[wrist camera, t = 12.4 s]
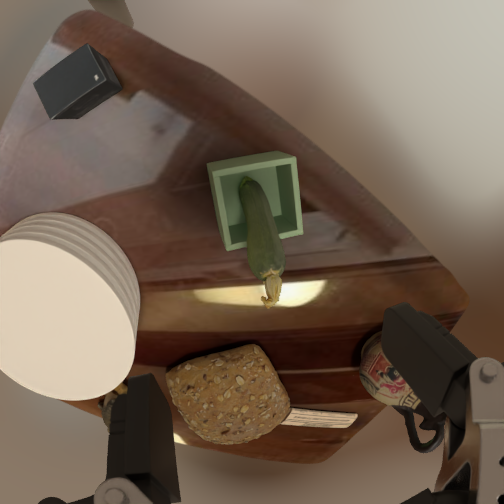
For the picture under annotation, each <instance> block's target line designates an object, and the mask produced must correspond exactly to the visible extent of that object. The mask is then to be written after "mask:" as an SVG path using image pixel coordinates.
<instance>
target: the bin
mask: <svg viewBox="0 0 504 504" xmlns="http://www.w3.org/2000/svg"><path fill="white" fill-rule="evenodd" d="M207 170H208V175H209V181H210V186H211V191H212V197H213V202H214V207H215V213H216V218H217V223H218V228H219V232H220V235H221V238H222V240H223V243H224V245H225V248H226V250H227V251H230V250H234V249H239V248H243V247H247V234H248V229H247V222H246V218H245V215H244V212H243V208H242V204H241V200H240V197H239V190H240V188H239V186H240V185H241V182H242V180H243V178H244V177H246V176H248V177H250V178H252V179H253V180H254V181H256V182H258V183H259V184H260V185H261V187H262V189H263V191H264V193H265V195H266V196H267V199H268V201H269V204H270V208H271V212H272V215H273V218H274V221H275V224H276V227H277V231H278V234H279V237H280V239H283V238H287V237H292V236H296V235H301V234H303V226H302V214H301V204H300V193H299V183H298V174H297V165H296V157H295V156H292V155H289V154H286V153H283V152H280V151H272V152H266V153H260V154H254V155H248V156H242V157H237V158H231V159H226V160H221V161H215V162H210V163H207Z"/></svg>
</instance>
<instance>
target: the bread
mask: <svg viewBox="0 0 504 504" xmlns="http://www.w3.org/2000/svg"><path fill="white" fill-rule="evenodd" d="M165 375H166V381H165V382H167V385H168V388H169V392H170V394H171V396H172V398H173V399H172V401H173V403H174V405H176V406H177V407H178V410H177V411H179V412H180V413H181V415H183V418H184V419H185V422H187V423H188V424H189V426H188V427H189V428H190V429H192V430H193V431H194V432H195V433H196V434H197V435H200V436H201V437H202V439H204V440H206V441H207V440H209V441H210V442H213V443H215V444H218V443H219V444H220V443H221V444H233V443H236V444H239V443H242V442H246V443H247V442H248V441H249V440H252V439H254V438H255V439H257V438H259V437H260V436H261V435H264V434H266V433H268V432H270V431H272V429H273V428H275V427H276V426H277V425H279V424H281V421H282V420H284V418H285V416H286V414H288V412H289V410H288V408H289V407H290V405H289V404H290V402H289V400H290V398H288V393H287V392H286V390H285V388H284V386H283V384H282V383H281V382H280V380H279V378H278V375H277V372H276V371H275V369H274V367H273V366H272V364H271V362H270V361H269V358H268V357H267V356H266V354H265V353H264V352H263V350H262V349H261V347H259V346H257V345H255V344H249V345H244V346H241V347H238V348H235V349H231V350H227V351H223V352H218V353H214V354H210V355H207V356H202V357H198V358H195V359H193V360H188V361H186V362H184V363H182V364H180V365H178V366H176V367H174V368H173V369H171V370H170V371H169V372H168V373H166V374H165Z"/></svg>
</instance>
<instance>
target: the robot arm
mask: <svg viewBox="0 0 504 504" xmlns="http://www.w3.org/2000/svg"><path fill="white" fill-rule="evenodd" d="M381 348H382V351H383V353H384V355H385V357H386V358H387V359H388V360H389V362H390V363H391V364H392V365H393V367H394V368H395V369H396V370H397V372H398V373H399V374H400V375H401V377H402V378H403V379H404V380H405V382H406V383H407V384H408V385H409V387H410V388H411V389H412V390H413V392H414V393H415V394H416V395H417V397H418V398H419V399H420V401H421V402H422V403H423V404H424V406H425V407H426V408H427V409H428V411H429V412H430V413H431V415H432V416H433V417H436V416H437V415H439V414H441V413H442V412H445V413H446V414H447V417H446V421H445V438H444V451H443V461H442V467H441V470H440V473H439V475H438V478H437V480H436V484H435V489H434V492H433V493H431V491H430V490H429V489H428V488H427V489H425V490H424V491H422V492H420V493H419V494H417V495H415V496H413V497H411V498H410V499H408V500H406V501H404V502H402V503H401V504H504V362H503V363H499V362H498V361H497V360H495V359H492V358H487V357H483V358H479V359H478V358H477V357H476V356H475V355H474V354H472V353H471V352H470V351H469V350H468V349H467V348H466V347H465V346H464V345H463V344H462V343H461V342H460V341H459V340H458V339H457V338H456V337H455V336H454V335H452V334H450V333H449V331H448V330H447V329H446V328H445V327H442V324H441V323H439V322H438V321H437V320H436V319H435V318H434V317H433V316H431V315H429V314H426V313H424V312H422V311H418V312H417V311H416V310H415V309H414V308H413V307H412V306H411V305H409V304H408V303H406V302H403V303H400V304H398V305H395V306H392V307H390V308H387V309H386V310H385V312H384V320H383V328H382V336H381ZM110 422H111V424H110V427H109V433H110V435H109V441H108V456H107V475H106V480H105V481H104V482H103V483H101V484H100V485H99V487H98V488H97V490H96V491H95V494H94V495H92V496H90V497H87V498H84V499H81V500H78V501H75V502H71V503H66V502H64V501H63V500H61V499H59V498H55V497H48V498H45V499H43V500H42V501H40V502H39V503H38V504H171V503H176V502H181V497H180V490H179V482H178V475H177V465H176V456H175V446H174V435H173V423H172V415H171V410H170V407H169V404H168V402H167V400H166V398H165V396H164V394H163V392H162V391H161V389H160V387H159V385H158V383H157V381H156V379H155V377H154V375H153V374H152V373H149V374H143V375H138V376H132V377H129V379H128V388H127V394H120V395H118V396H117V398H116V400H115V402H114V404H113V405H112V407H111V416H110Z"/></svg>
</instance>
